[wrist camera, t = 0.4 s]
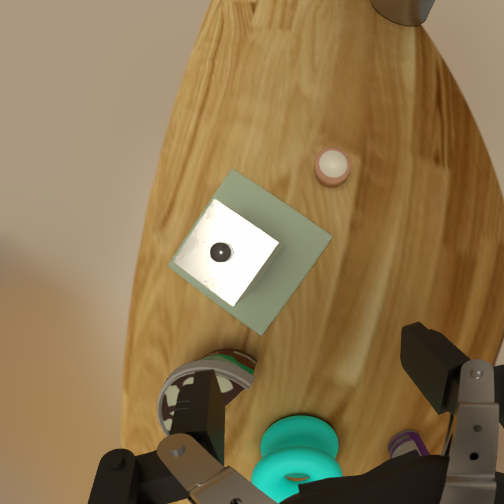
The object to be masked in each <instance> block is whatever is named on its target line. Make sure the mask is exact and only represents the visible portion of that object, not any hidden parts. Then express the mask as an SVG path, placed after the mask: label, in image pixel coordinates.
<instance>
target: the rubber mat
mask: <svg viewBox="0 0 504 504" xmlns="http://www.w3.org/2000/svg"><path fill="white" fill-rule="evenodd" d="M214 199H216V200H218V201H220V202H222V203H223V204H225V205H227V206H229V207H230V208H232V209H234V210H236V211H237V212H239V213H241V214H242V215H244V216H245V217H247V218H248V219H249V220H251V221H252V222H254V223H255V224H257V225H258V226H260V227H261V228H262V229H264V230H265V231H267V232H268V233H270V234H271V235H273V236H274V237H275V238H277V239H278V240H280V241H281V242H283V243H284V244H285V247H284V248H283V250H282V251H281V252H280V254H279V255H278V257H277V258H276V260H275V261H274V262H273V264H272V265H271V267H270V268H269V269H268V271H267V272H266V274H265V275H264V277H263V278H262V279H261V281H260V282H259V284H258V285H257V286H256V288H255V289H254V291H253V292H251V293H250V294H249V295H248V296H246V297H245V298H244V299H242V300H241V301H240V302H239V303H237V304H236V305H235V306H231V305H230V304H229V303H227V302H226V301H225V300H223V299H222V298H220V297H219V296H218V295H216V294H215V293H214V292H212V291H211V290H210V289H208V288H207V287H206V286H205V285H203V284H202V283H201V282H199V281H198V280H197V279H195V278H194V277H193V276H191V275H190V274H189V273H187V272H186V271H185V270H184V269H182V268H181V267H180V266H178V265H177V264H176V263H175V262H173V261H174V260H175V258H176V256H177V255H178V253H179V252H180V250H181V249H182V247H183V245H184V244H185V242H186V241H187V239H188V238H189V236H190V235H191V233H192V232H193V230H194V229H195V227H196V226H197V224H198V223H199V221H200V220H201V218H202V217H203V215H204V214H205V212H206V211H207V209H208V208H209V206H210V205H211V203H212V202H213V200H214ZM332 237H333V236H332V235H330V234H329V233H327V232H326V231H324V230H323V229H322V228H320V227H319V226H317V225H316V224H315V223H313V222H312V221H310V220H309V219H307V218H306V217H304V216H303V215H302V214H300V213H299V212H297V211H296V210H294V209H293V208H291V207H290V206H288V205H287V204H285V203H284V202H282V201H281V200H279V199H278V198H276V197H275V196H273V195H272V194H270V193H269V192H267V191H266V190H264V189H263V188H261V187H260V186H258V185H257V184H255V183H254V182H252V181H251V180H249V179H248V178H246V177H245V176H243V175H241V174H240V173H238V172H237V171H235V170H234V169H232V170H231V171H230V172H229V174H228V175H227V177H226V178H225V180H224V181H223V183H222V184H221V185H220V187H219V188H218V190H217V191H216V193H215V194H214V196H213V197H212V199H211V200H210V202H209V203H208V205H207V206H206V207H205V209H204V210H203V212H202V213H201V215H200V216H199V218H198V219H197V221H196V223H195V224H194V226H193V227H192V229H191V230H190V232H189V233H188V235H187V236H186V238H185V239H184V241H183V242H182V244H181V246H180V247H179V249H178V250H177V252H176V253H175V255H174V257H173V258H172V260H171V261H170V263H169V264H168V266H169V267H170V268H171V269H172V270H174V271H175V272H176V273H177V274H179V275H180V276H181V277H183V278H184V279H185V280H186V281H188V282H189V283H190V284H192V285H193V286H194V287H195V288H197V289H198V290H199V291H201V292H202V293H203V294H205V295H206V296H207V297H209V298H210V299H211V300H213V301H214V302H215V303H217V304H218V305H219V306H221V307H222V308H223V309H225V310H226V311H227V312H229V313H230V314H231V315H233V316H234V317H235V318H237V319H238V320H240V321H241V322H242V323H244V324H245V325H246V326H248V327H249V328H251V329H252V330H253V331H255V332H256V333H258V334H259V335H260V336H262V334H263V333H264V332H265V330H266V329H267V328H268V326H269V325H270V324H271V322H272V321H273V320H274V318H275V317H276V316H277V314H278V313H279V312H280V310H281V309H282V308H283V306H284V305H285V303H286V302H287V301H288V299H289V298H290V297H291V295H292V294H293V292H294V291H295V290H296V288H297V287H298V286H299V284H300V283H301V281H302V280H303V279H304V277H305V276H306V274H307V273H308V272H309V270H310V269H311V267H312V266H313V264H314V263H315V262H316V260H317V259H318V257H319V256H320V254H321V253H322V252H323V250H324V249H325V247H326V246H327V244H328V243H329V241H330V240H331V238H332Z"/></svg>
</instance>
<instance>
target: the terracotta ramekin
mask: <svg viewBox="0 0 504 504" xmlns="http://www.w3.org/2000/svg"><path fill="white" fill-rule="evenodd" d="M350 169H351V161H350V158H349V156H348V155H347V154H346V153H345V152H344V151H343V150H341V149H339V148H336V147H328V148H325V149H323V150H322V151H321V152H319V154H318V155H317V157H316V162H315V177H316V179H317V180H318V182H319V183H320V184H322V185H323V186H325V187H329V188H334V187H338V186H340V185H341V184H342V183H343V182H344V181H345V179H346V177H347V176H348V174H349V172H350Z"/></svg>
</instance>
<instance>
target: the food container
mask: <svg viewBox="0 0 504 504" xmlns="http://www.w3.org/2000/svg"><path fill="white" fill-rule="evenodd" d="M256 363H257V360H256V359H254V358H253V357H252V356H250V355H249V354H246V353H244V352H241V351H239V350H234V349H220V350H215V351H213V352H211V353H209V354H207V355H206V356H204V357H203V358H201V359H200V360H198V361H192V362H189V363H187V364H184V365H182V366H180V367H179V368H177V369H176V370H175V371H173V372H172V373H171V374H170V375H169V377H168V378H167V379H166V381H165V383H164V385H163V387H162V389H161V392H160V394H159V398H158V409H157V411H158V419H159V422H160V425H161V428H162V430H163V432H164V433H165V435H166V437H168V436H169V433H170V429H171V424H172V419H173V415H174V411H175V405H176V403H177V402H176V401H177V396H178V393H179V391H180V390H181V389H182V388H183V386H184V385H185V384H193V380H194V374H195V371H202V370H209V369H214V371H215V374H216V377H217V380H218V383H219V386H220V390H221V393H222V396H223V399H224V405H225V406H226V405H227V404H228V403H229V402H230V401H231V400H232V399H234V398H235V397H236V396H237V395H238V394H239V393H240V392H241V391H242V390H243V389H247V390H248V389H249V386H251V384H252V383H253V381H254V379H255V377H254V376H253V373H254V370H255V366H256Z"/></svg>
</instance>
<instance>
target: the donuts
mask: <svg viewBox="0 0 504 504" xmlns="http://www.w3.org/2000/svg"><path fill="white" fill-rule="evenodd" d="M338 447H339V444H338V438H337V435H336V433H335V432H334V430H333V429H332V428H331V426H329V425H328V424H327V423H326V422H324V421H322V420H320V419H318V418H315V417H311V416H304V415H298V416H291V417H287V418H284V419H281V420H279V421H277V422H275V423H274V424H273V425H271V426H270V427H269V428H268V429H267V431H266V432H265V433H264V435H263V437H262V440H261V444H260V450H261V455H262V459H261V460H260V461H259V462H258V463H257V465H256V466H255V468H254V470H253V472H252V476H251V483H252V484H253V485H255V486H256V487H257V488H258V489H260V490H261V491H262V492H264V493H265V494H266V495H268V496H269V497H270V498H272V499H273V500H274V501H276V502H277V503H280V502H281V501H283V500H284V499H286V498H288V497H290V496H292V495H294V494H296V493H298V492H299V488H298V484H302V483H307V482H312V481H316V480H321V479H325V478H330V477H343V475H342V470H341V468H340V466H339V464H338V462H337V461H336V460H335V457H336V455H337V452H338ZM285 476H287V477H292V478H304V477H309V478H307V479H306V480H303V481H291V480H289V479H287V478H286V477H285Z"/></svg>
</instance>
